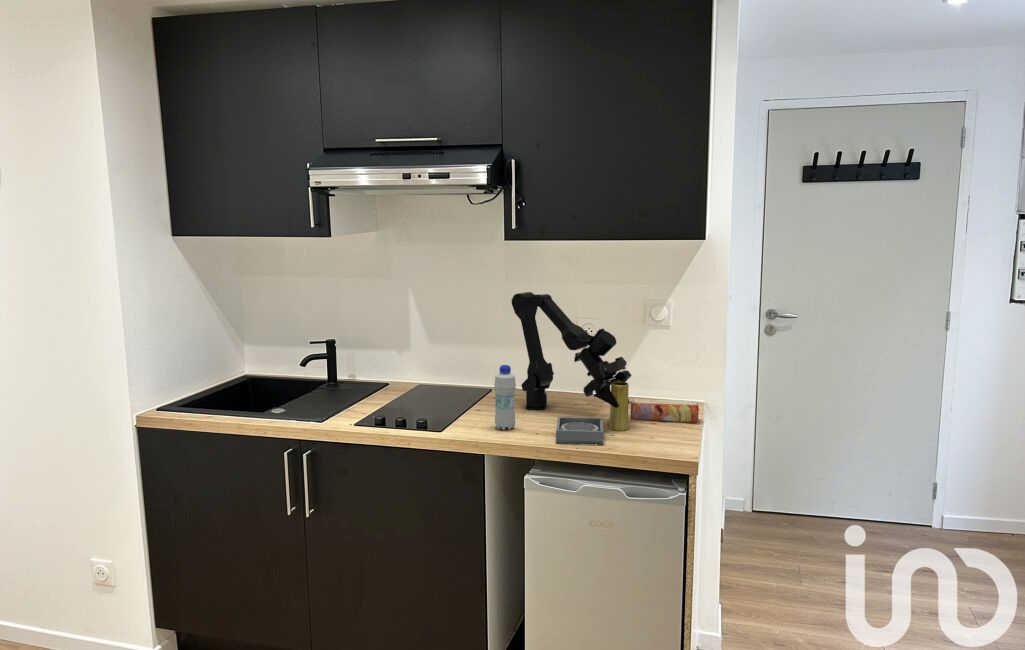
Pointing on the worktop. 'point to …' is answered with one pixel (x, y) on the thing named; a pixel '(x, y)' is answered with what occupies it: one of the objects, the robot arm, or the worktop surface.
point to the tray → (579, 432)
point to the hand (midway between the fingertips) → (623, 405)
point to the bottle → (505, 398)
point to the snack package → (665, 410)
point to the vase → (621, 413)
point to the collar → (579, 426)
